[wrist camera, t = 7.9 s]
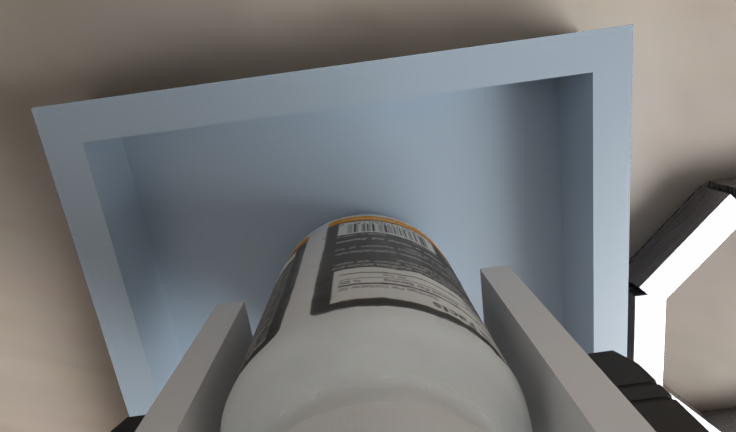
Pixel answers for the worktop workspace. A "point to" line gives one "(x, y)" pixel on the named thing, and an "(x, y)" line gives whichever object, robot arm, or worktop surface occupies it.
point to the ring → (677, 281)
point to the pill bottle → (372, 342)
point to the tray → (351, 184)
